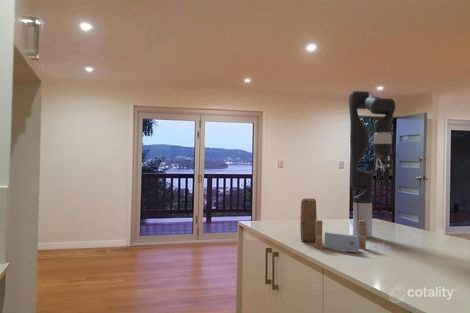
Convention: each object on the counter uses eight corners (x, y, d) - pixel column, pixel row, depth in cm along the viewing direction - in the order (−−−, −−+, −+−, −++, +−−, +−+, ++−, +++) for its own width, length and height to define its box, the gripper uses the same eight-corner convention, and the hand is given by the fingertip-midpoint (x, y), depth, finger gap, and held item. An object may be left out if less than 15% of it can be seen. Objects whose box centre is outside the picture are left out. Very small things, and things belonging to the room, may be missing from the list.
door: (326, 247, 169) (326, 232, 169) (358, 251, 160) (358, 236, 160) (323, 248, 167) (323, 232, 167) (355, 253, 158) (355, 237, 158)
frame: (315, 247, 170) (315, 220, 170) (363, 247, 170) (363, 220, 171) (316, 248, 168) (316, 220, 168) (365, 248, 168) (365, 221, 168)
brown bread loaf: (317, 242, 180) (317, 199, 180) (300, 242, 181) (300, 199, 181) (315, 238, 191) (315, 197, 191) (300, 237, 192) (300, 197, 192)
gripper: (397, 142, 165) (397, 180, 165) (384, 144, 179) (384, 179, 179) (380, 142, 165) (380, 180, 165) (368, 143, 179) (368, 178, 179)
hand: (382, 179), depth 172 cm, fingers open, 8 cm apart
